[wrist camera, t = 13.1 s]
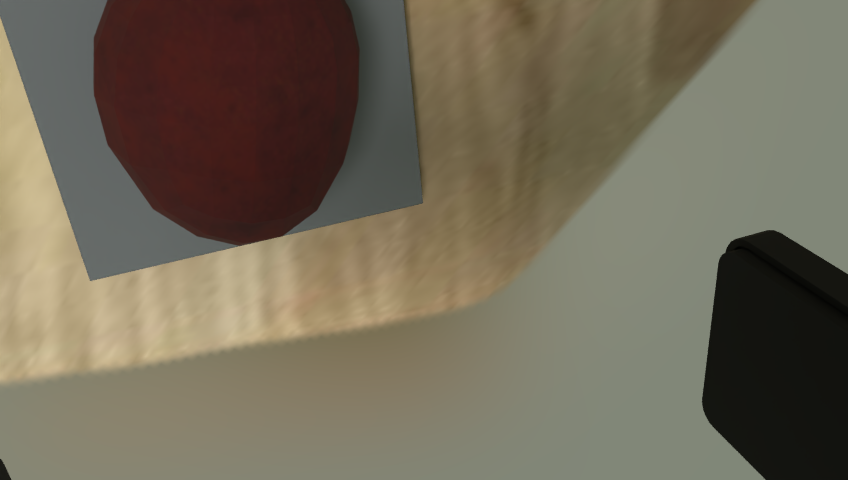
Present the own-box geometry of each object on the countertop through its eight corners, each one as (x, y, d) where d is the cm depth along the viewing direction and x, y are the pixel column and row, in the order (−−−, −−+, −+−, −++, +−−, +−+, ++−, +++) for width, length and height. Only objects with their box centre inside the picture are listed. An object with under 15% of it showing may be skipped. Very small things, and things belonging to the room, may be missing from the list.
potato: (364, -36, 25) (427, -4, 20) (296, 216, 28) (337, 299, 23) (115, -113, 22) (117, -97, 17) (69, 181, 25) (59, 269, 20)
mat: (-35, -105, 22) (-40, -102, 21) (379, -151, 25) (389, -150, 24) (90, 267, 28) (89, 281, 27) (414, 193, 31) (422, 203, 30)
